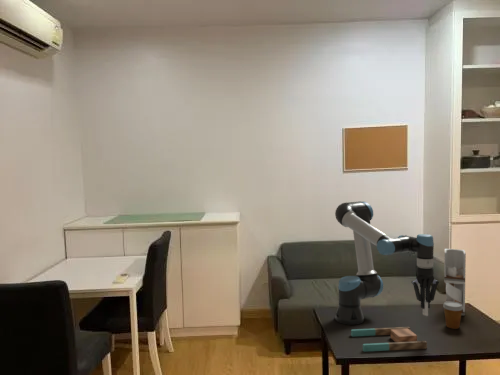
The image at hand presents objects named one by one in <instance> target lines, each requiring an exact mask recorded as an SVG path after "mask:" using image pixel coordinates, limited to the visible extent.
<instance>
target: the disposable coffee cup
mask: <svg viewBox="0 0 500 375" xmlns="http://www.w3.org/2000/svg"><path fill="white" fill-rule="evenodd" d="M442 306H443V313H444V312H445V313H444V317H445V325H446V327H447V328H449V329H453V330H454V329H455V330H456V329H460V326H461V319H462V315H461V313H462V309H463V307H462V304H460V303H458V302H451V301H449V302H446V301H444V302H443V305H442Z"/></svg>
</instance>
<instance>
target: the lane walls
mask: <svg viewBox="0 0 500 375" xmlns="http://www.w3.org/2000/svg"><path fill="white" fill-rule="evenodd" d="M406 328H408V329H409V330H411V327H410V326H398V327H395V326H393V327H379V328H378V327H375V328H374V329H375V330H376V332H375V335H374V336H389V335H390V336H391V329H406ZM388 343H389V350H388V351H400V350H401V351H402V350H421V349H423V350H424V349H427V348H428V342H427V341H426V340H417V341H412V342H395V341H394V342H388Z"/></svg>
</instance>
